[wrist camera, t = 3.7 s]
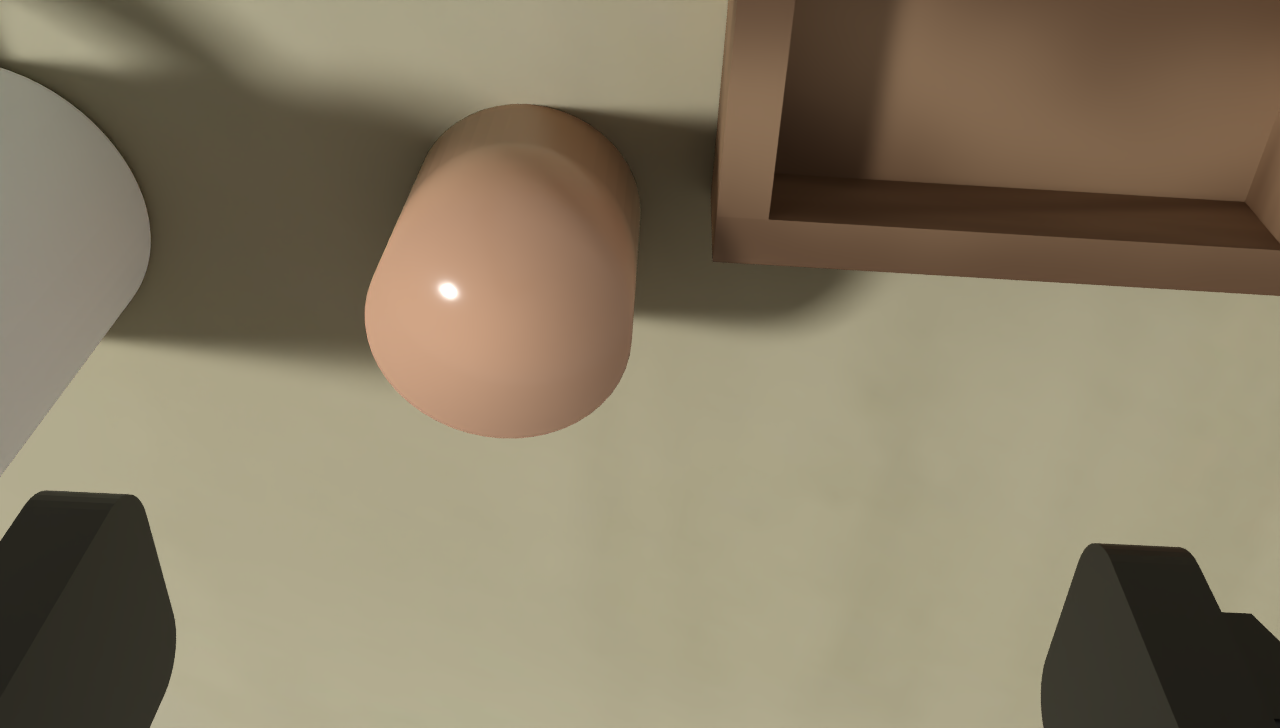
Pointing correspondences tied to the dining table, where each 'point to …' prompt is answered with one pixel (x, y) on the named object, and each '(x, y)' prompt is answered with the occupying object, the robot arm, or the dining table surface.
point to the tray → (1004, 140)
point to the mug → (58, 249)
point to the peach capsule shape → (510, 275)
